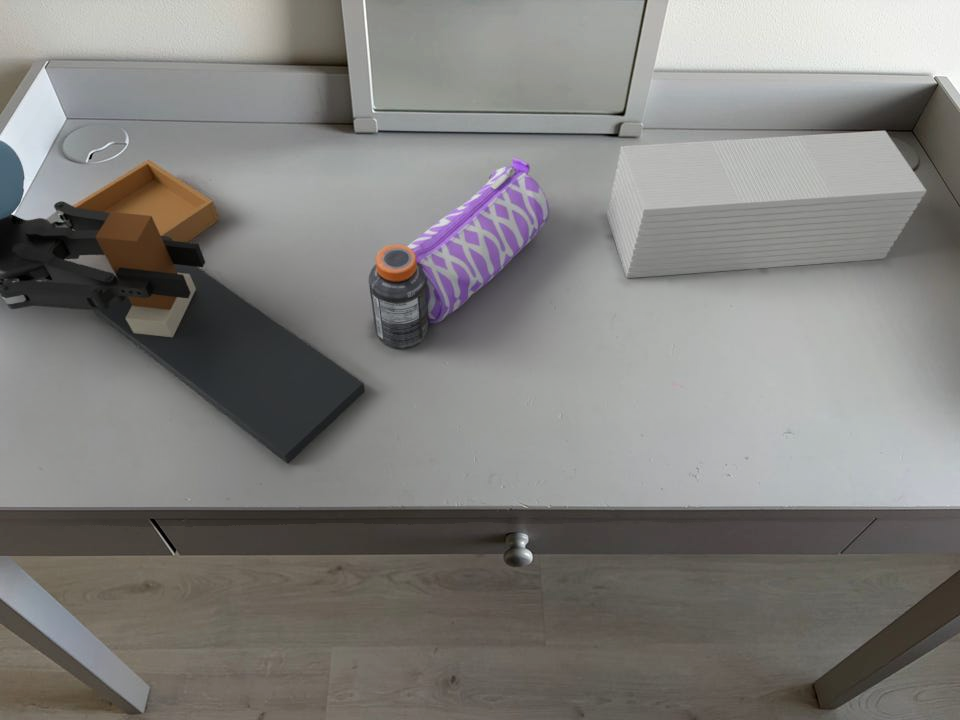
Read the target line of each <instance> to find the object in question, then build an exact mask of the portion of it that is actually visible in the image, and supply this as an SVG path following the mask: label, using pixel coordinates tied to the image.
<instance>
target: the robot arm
mask: <svg viewBox="0 0 960 720" xmlns="http://www.w3.org/2000/svg"><path fill="white" fill-rule="evenodd" d="M24 184H25V171H24V166H23V163H22V161H21V159H20V157H19V156H18V153H17V152H16V151H15V150H14V148H12V146H11V145H9V144H8V143H6V142H5V141H3V140H1V139H0V297H1V298H2V299H3V301H4V302H5V303H6V305H7V306H8V308H9V309H11V310H17V309H23V308H29V307H43V308H44V307H45V308H46V307H47V308H57V309H58V308H60V309H71V310H73V309H74V310H86V311H94V310H99V311H103V310H106V309H107V308H108V307H109V303H108V302H110V301H111V300H112V299H113V298H114V300H115V302H116V303H120V302H123V301H124V300H125V296H129V297H139V298H149V297H150V296H151V294H154V295H163V296H171V297H180V298H189V296H190V293H191V292H190V290H189V288H188V285H187V283H186V280H185V278H184V276H183V275H181V274H173V273H164V272H155V271H146V270H138V269H129V268H121V267H120V268H119V269H118V271H117V275H118V277H117V276H116V274H115V273H114V272H110V271H106V270H102V269H99V268H94V267H92V266H88V265H84V264H81V263H77V262H74V261H70V260H77V259H79V258H80V257H81V256H105V254H104V252H103V250H102V248H101V247H100V245H99V243H98V241H97V239H96V235H97V234H98V232H99V231H100V229H101V227H102V226H103V224H104V222H105V221H106V219H107V218H108V216H109V214H110V213H107V212H101V211H94V210H88V209H81V208H75V207H73V205H72V204H70V203H67V202H65V201H58V202H55V204H54V205H53V207H54V209H55V211H54V213H52V214H51V215H49V216H48V217H47V218H42V217H37V218H33V219H24V218H21V217H19V216H17V215H14V214H13V213H14V212H15V211H16V210H17V209H18V208H19V206H20V204H21V202H22V200H23V196H24V194H25V193H24V192H25V188H24V186H25V185H24ZM161 238H162V240H163V242H164V245H165V247H166V249H167V251H168V254H169V256H170V258H171V260H172V262H173V264H177V265H186V266H195V267H198V268H204V266H205V264H206V260H205V258H204V255H203V252H202V249H201V247H200V245H199V243H195V242H189V241H188V242H179V241H173V240H172V238H170V237H168V236H161Z"/></svg>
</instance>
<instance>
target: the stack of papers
mask: <svg viewBox="0 0 960 720" xmlns="http://www.w3.org/2000/svg"><path fill="white" fill-rule="evenodd" d="M616 165H617V166H616V169H615V173H614V180H613V184H612V185H613V186H612V188H611V194H610V199H609V203H608V207H607V208H608V209H607V213H606V218H607V221H608V223H609V228H610V230H611V233H612V237H613V241H614V243H615V246H616V249H617V253H618V256H619V260H620V261H621V265H622V269H623V272H624V274H625V275H624V276H625V278H626V279H633V278H648V277H649V278H650V277H661V276H662V277H663V276H672V275H673V276H675V275H688V274H701V273H702V274H703V273H714V272H715V273H716V272H728V271H742V270H755V269H766V268H767V269H768V268H782V267H794V266H795V267H796V266H805V265H807V266H808V265H820V264H821V265H822V264H833V263H834V264H836V263H847V262H848V263H849V262H860V261H861V262H862V261H875V260H884V259H886V257H887V255H888V253H889V252H890V250H891V249H892V248H891V247H893V246H894V244H895V242H896V241H897V239H898V238H899V236H900V234H901V233H902V231H903V229H904V228H905V226H906V223H908V222H909V220H910V217H911V216H912V215H913V213H914V211H915V210H916V209H917V208H918V204H920V202H921V201H922V199H923V197H924V196H925V195H926V193H927V189H926V187H925V186H924V185H923V183H922V182H921V180H920V179H919V177H918V176H917V174H916V173H915V171H914V170H913V168H912V167H911V166H910V164H909V163H908V162H907V160H906V158H905V157H904V156H903V154H902V152H901V151H900V149H898V147H897V145H896V144H895V142H894V141H893V139H892V137H891V136H890V135H889V134H888V132H887V130H872V131H870V130H869V131H855V132H838V133H821V134H805V135H788V136H787V135H786V136H772V137H771V136H770V137H754V138H753V137H752V138H737V139H722V140H718V139H717V140H706V141H705V140H704V141H688V142H686V141H685V142H669V143H655V144H654V143H653V144H638V145H637V144H636V145H635V144H634V145H621V146H620V149H619V154H618V160H617V164H616Z"/></svg>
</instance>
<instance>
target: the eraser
mask: <svg viewBox="0 0 960 720" xmlns="http://www.w3.org/2000/svg"><path fill="white" fill-rule="evenodd" d="M96 239H97V241H98V243H99V245H100V247H101V248H102V250H103V252H104V254H105V255H104V256H105V258H106V259H107V262H108V263H109V265H110V267H111V268H112V270H113V273H114V275H115V277H118V275H117V271H118V269H119V268H120V267H121V268H129V269H138V270H146V271H155V272H164V273H173V274H181V275H183V276H184V278H185V280H186V283H187V285H188V288H189V290H190V292H191V293H190V296H189V298H180V297H171V296H163V295H154V294H151V296H150V297H149V298H139V297H129V296H128V298H129V300H130V302H131V304H132V307H131V309H130V311H129V312H128V314H127V316H126V320H127V322H128V324H129V326H130V327H131V329H132V331H133V333H138V334H147V335H155V336H164V337H173V336H174V334H175V332H176V330H177V328H178V326H179V324H180V322H181V319H182V317H183V315H184V313H185V311H186V309H187V307H188V305H189V303H190V301H191V299H192V297H193V294H194V292H195V290H196V288H195V285H194V283H193V281H192V279H191V276H190V274H185V273H177V271H176V269H175V267H174V265H173V262H172V260H171V258H170V256H169V254H168V251H167V249H166V247H165V245H164V242H163V240H162V238H161V236H160V234H159V231H158V229H157V227H156V225H155V223H154V220H153V218H152V216H147V215H137V214H127V213H117V212H111V213H110V214H109V216H108V218H107V219H106V221H105V222H104V224H103V226H102V227H101V229H100V231H99V232H98V234H97V235H96Z"/></svg>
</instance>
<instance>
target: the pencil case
mask: <svg viewBox="0 0 960 720" xmlns="http://www.w3.org/2000/svg"><path fill="white" fill-rule="evenodd" d="M530 170H531V167H530V165H529V163H528V162H526V161H525V160H522V159H521V158H518V157H513V158H512V164H511V166H510V167H508V166H503V167H500V168H498V169H496V170H494V172H493V173H492V174H490V175H489V176H488V178H489V180H488V181H487V182H486V183H485V184H484V185H483V186H481V187H480V189H479V190H478V191H477V192H475V194H473V195H472V196H471V197H470V198H469V199H468V200H467V201H465V202H464V203H463V204H462V205H460V206H458V207H456V208H455V209H453V210H451V211H450V212H449V213H447V214H446V215H445V216H443V217H442V218H441V219H440V220H438V221H437V222H436V223H434V224H433V225H432V226H431V227H429V228H428V229H427V230H425V231H424V232H423V233H422V234H420V235H419V236H418V237H417V238H416V239H415V240H413V241H411V243H409V244H408V245H406V246H407V247H409V248H411V249H412V250H413V251H414V253H415V255H416V261H417V264H420V265H421V266H422V269H423V271H424V273H425V276H426V278H427V297H428V318H429V324H437V323H439V322H441V321H443V320H444V319H445V318H446V317H447V316H448V315H449V314H452V313H453V312H455V311H456V310H457V309H459V308H460V307H462V306H463V305H464V304H465V303H466V302H468V300H469V299H470V297H471V296H472V295H473V294H475V293H476V292H478V291H479V290H480V289H482V288H483V287H485V286H486V285H487V284H488V283H489V282H490V281H491V280H492V279H493V278H494V277H496V276H497V275H498V274H499V273H500V272H501V271H502V270H503V269H504V268H505V266H507V265H508V264H509V262H511V261H512V260H513V259H514V258H515V257H516V256H517V255H518V254H519V253H520V251H522V250H523V249H524V248H525V247H526V246H527V245H528V244H530V242H531V241H532V240H533V239H534V238H535V236H536V235H537V233H538V232H539V231H540V230H541V229H542V228H543V227H544V226H545V225H546V223H547V221H548V219H549V215H550V204H549V201H548V198H547V196H546V194H545V192H544V191H543V188H541V185H540V184H539V183H538V182H537V180H535V179H534V178H533V177H532V176H531V175H529V173H530Z"/></svg>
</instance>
